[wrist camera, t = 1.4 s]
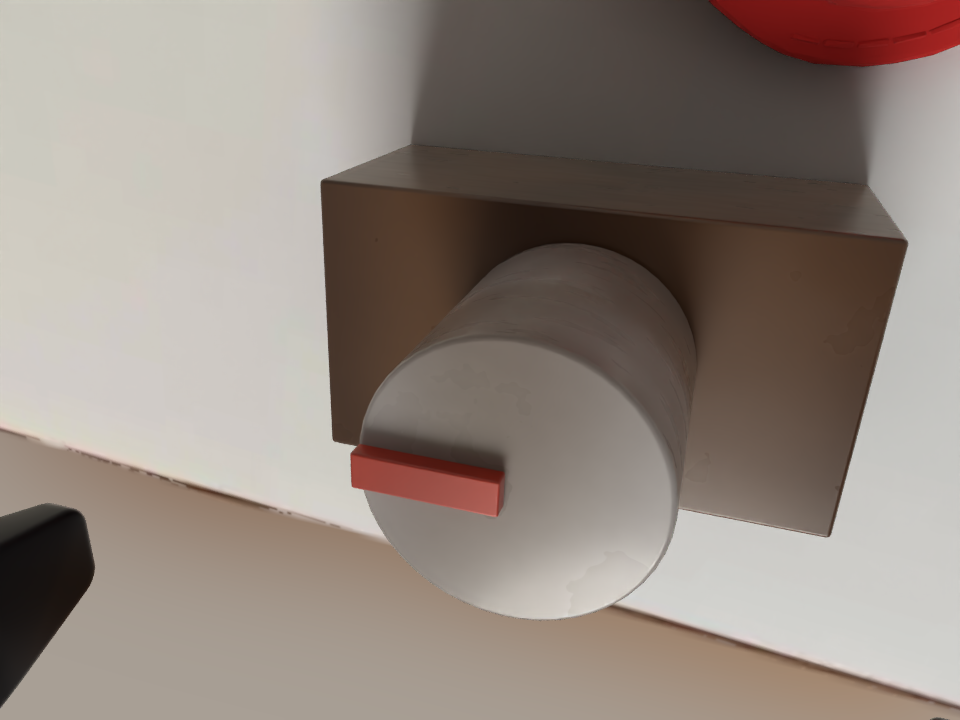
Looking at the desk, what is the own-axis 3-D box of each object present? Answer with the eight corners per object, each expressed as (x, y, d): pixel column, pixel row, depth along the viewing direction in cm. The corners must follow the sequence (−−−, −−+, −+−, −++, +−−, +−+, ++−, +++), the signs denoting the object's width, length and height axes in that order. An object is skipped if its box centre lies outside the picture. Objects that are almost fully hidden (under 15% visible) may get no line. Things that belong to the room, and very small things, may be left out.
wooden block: (869, 184, 16) (910, 240, 12) (812, 426, 18) (830, 540, 14) (409, 143, 19) (318, 179, 15) (408, 361, 21) (331, 442, 17)
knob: (715, 257, 13) (701, 375, 9) (678, 484, 15) (652, 671, 11) (460, 228, 14) (341, 320, 10) (455, 442, 16) (351, 596, 12)
